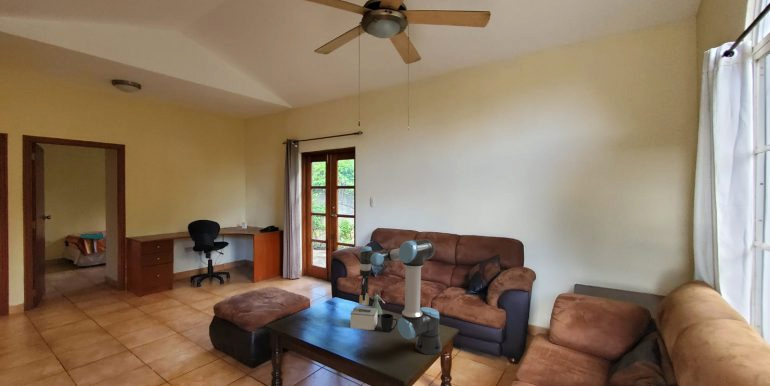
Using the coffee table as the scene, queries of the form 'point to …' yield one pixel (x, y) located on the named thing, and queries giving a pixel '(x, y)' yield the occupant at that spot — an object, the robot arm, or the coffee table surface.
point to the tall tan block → (366, 300)
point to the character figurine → (377, 303)
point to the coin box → (364, 318)
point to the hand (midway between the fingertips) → (364, 303)
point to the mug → (387, 322)
